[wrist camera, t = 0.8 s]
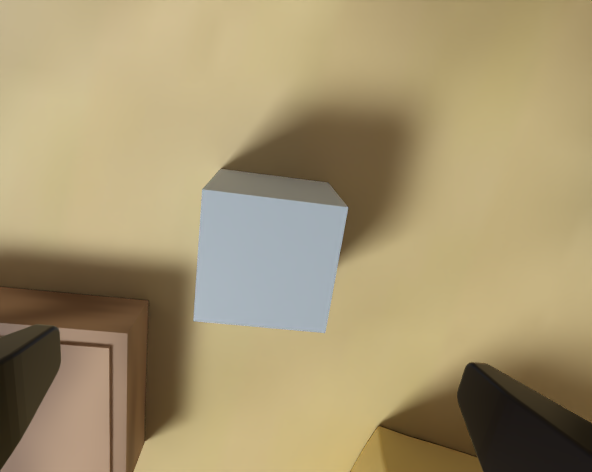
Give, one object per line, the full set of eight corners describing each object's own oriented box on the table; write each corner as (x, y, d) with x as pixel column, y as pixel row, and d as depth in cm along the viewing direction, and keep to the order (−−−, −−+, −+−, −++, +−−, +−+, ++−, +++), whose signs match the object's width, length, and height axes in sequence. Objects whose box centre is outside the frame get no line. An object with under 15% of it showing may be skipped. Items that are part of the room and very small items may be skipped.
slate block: (328, 182, 18) (348, 207, 13) (312, 279, 20) (325, 332, 15) (220, 168, 18) (202, 189, 13) (212, 268, 19) (193, 321, 14)
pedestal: (148, 300, 19) (126, 335, 16) (144, 442, 22) (124, 494, 19) (-47, 282, 18) (-108, 315, 15) (-26, 432, 21) (-75, 486, 18)
